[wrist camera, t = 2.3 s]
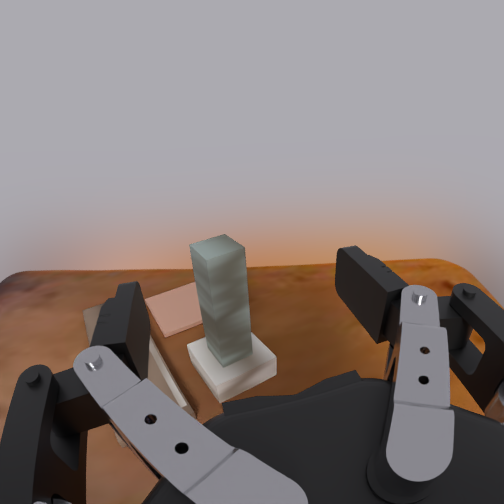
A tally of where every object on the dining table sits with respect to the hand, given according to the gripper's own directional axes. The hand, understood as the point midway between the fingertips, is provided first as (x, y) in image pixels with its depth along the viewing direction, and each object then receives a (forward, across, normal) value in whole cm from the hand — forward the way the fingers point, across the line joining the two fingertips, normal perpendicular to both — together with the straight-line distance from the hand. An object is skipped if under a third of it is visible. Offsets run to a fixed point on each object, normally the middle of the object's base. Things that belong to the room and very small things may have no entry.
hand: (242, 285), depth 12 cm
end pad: (+22, +4, +16) cm, 27 cm away
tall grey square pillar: (+10, 0, +16) cm, 19 cm away
